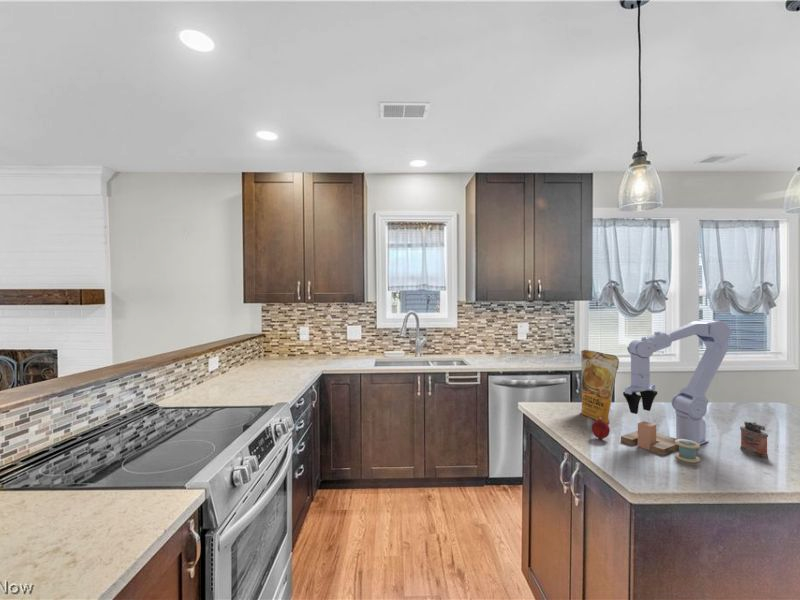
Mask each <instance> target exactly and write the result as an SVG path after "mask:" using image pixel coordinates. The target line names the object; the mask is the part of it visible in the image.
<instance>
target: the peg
mask: <svg viewBox="0 0 800 600" xmlns="http://www.w3.org/2000/svg"><path fill="white" fill-rule="evenodd" d="M637 431H638V444H637V447H639V448H642V449H646V450H648V449H649V450H648V451H651V445H653V444H656V433H657V424H656V423H652V422H649V421H648V422H647V421H641V422H638V423H637Z"/></svg>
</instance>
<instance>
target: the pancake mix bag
mask: <svg viewBox="0 0 800 600" xmlns="http://www.w3.org/2000/svg"><path fill="white" fill-rule="evenodd" d="M580 353H581V373H580V374H581V379H580V380H581V382H580V383H581V399H582V400H581V415H583V416H585V417H588V418H589V419H591V420H594V421H597V420H598V419H599V417H601V418H602V420H603V421H605V422H606V423H607V424H610V419H609V416H610V415H609V413H610V409H611V405H612V397H613V392H614V388H615V384H616V383H615V382H616V375H617V371H618V369H619V365H620V364H619V362H620V361H619V358H618V357H617V356H616V355H614V354H608V353H603V352H599V351H595V350H589V349H588V350H587V349H582V350H581V351H580Z"/></svg>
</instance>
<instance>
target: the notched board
mask: <svg viewBox="0 0 800 600" xmlns="http://www.w3.org/2000/svg"><path fill="white" fill-rule="evenodd" d="M673 437H674V436H672V437H671V436H670V435H669V436H668V435H665V434H662V433H658V432H656V444H653V445H651V450H650V452H652V453H655V454H658V455H660V456H667V455H668V454H671V453H674V452H676V451H679V445H677V444H675V440H677V439H676V438H673ZM620 442H621V443H623V442H624V444H627V445H630V446H635V445H638V430H635V431H633V432H629V433H627V434H623V435H621V436H620Z"/></svg>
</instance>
